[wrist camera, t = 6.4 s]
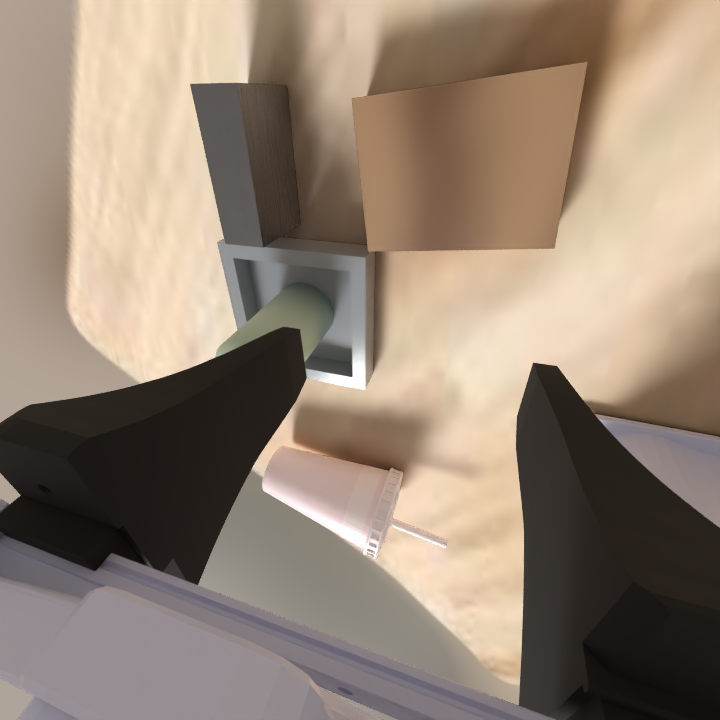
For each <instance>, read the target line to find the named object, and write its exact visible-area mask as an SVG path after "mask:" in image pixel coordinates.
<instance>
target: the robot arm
mask: <svg viewBox="0 0 720 720" xmlns="http://www.w3.org/2000/svg"><path fill="white" fill-rule="evenodd" d="M306 379H307V376H306V369H305V361H304V354H303V347H302V339H301V332H300V329H296V328H290V327H281V328H279V329H276V330H274V331H271V332H269V333H267V334H265V335H263V336H261V337H259V338H256V339H254V340H252V341H250V342H248V343H246V344H244V345H242V346H240V347H238V348H236V349H234V350H231V351H229V352H227V353H225V354H222V355H220V356H218V357H216V358H213V359H211V360H209V361H206V362H204V363H202V364H199V365H197V366H194V367H192V368H189V369H186V370H184V371H181V372H178V373H175V374H172V375H169V376H166V377H163V378H160V379H156V380H153V381H149V382H145V383H142V384H138V385H135V386H131V387H127V388H124V389H119V390H114V391H110V392H106V393H100V394H95V395H90V396H85V397H79V398H73V399H67V400H60V401H53V402H46V403H40V404H32V405H29V406H27V407H25V408H23V409H21V410H19V411H18V412H16V413H15V414H13V415H12V416H10V417H9V418H7V419H6V420H4V421H2V422H1V423H0V473H1V474H2V475H3V476H4V477H5V478H6V479H7V481H8V482H9V483H10V484H11V485H12V486H13V487H14V488H15V489H16V490H17V491H18V493H19V494H20V495H21V496H20V497H18V498H17V499H16V500H15V501H14V502H13V503H11V504H10V505H9V504H8V503H7V502H5V501H4V500H2V499H0V678H1V679H3V680H4V681H6V682H8V683H10V684H12V685H14V686H16V687H17V688H19V689H21V690H23V691H25V692H26V693H28V694H30V695H32V696H34V698H33V699H32V700H31V702H30V703H29V704H28V705H27V707H26V708H25V709H24V711H23V712H22V713H21V714H20V716H19V717H18V718H17V720H383V719H381V718H379V717H377V716H375V715H373V714H371V713H369V712H367V711H365V710H363V709H361V708H359V707H358V706H356V705H353V704H352V703H350V702H348V701H346V700H344V699H342V698H340V697H338V696H337V695H334V694H333V693H336V694H338V695H341V696H343V697H345V698H348V699H350V700H353V701H355V702H357V703H360V704H362V705H365V706H367V707H369V708H372V709H374V710H377V711H379V712H381V713H384V714H386V715H389V716H391V717H393V718H396V719H398V720H720V437H718V436H713V435H707V434H702V433H696V432H691V431H686V430H680V429H675V428H669V427H664V426H658V425H653V424H647V423H642V422H637V421H631V420H626V419H620V418H615V417H609V416H604V415H599V414H594V413H593V412H592V411H591V409H590V408H589V407H588V406H587V405H586V403H585V402H584V401H583V400H582V398H581V397H580V396H579V394H578V393H577V392H576V391H575V389H574V388H573V387H572V385H571V384H570V383H569V381H568V380H567V379H566V377H565V376H564V375H563V373H562V372H561V371H560V369H559V368H558V367H557V366H552V365H545V364H538V363H533V365H532V368H531V372H530V375H529V378H528V382H527V385H526V388H525V392H524V395H523V398H522V402H521V405H520V408H519V412H518V415H517V431H516V451H517V462H518V472H519V481H520V491H521V500H522V510H523V521H524V596H523V630H522V656H521V676H520V697H519V706H518V705H515V704H513V703H510V702H508V701H505V700H502V699H499V698H497V697H494V696H491V695H489V694H486V693H484V692H481V691H478V690H476V689H473V688H470V687H467V686H465V685H462V684H460V683H457V682H454V681H452V680H449V679H446V678H444V677H441V676H438V675H436V674H433V673H430V672H428V671H425V670H422V669H420V668H417V667H414V666H412V665H409V664H406V663H404V662H401V661H398V660H395V659H393V658H390V657H387V656H385V655H382V654H380V653H377V652H374V651H372V650H369V649H366V648H363V647H361V646H358V645H356V644H353V643H350V642H348V641H345V640H342V639H340V638H337V637H334V636H331V635H329V634H326V633H324V632H321V631H318V630H315V629H313V628H310V627H308V626H305V625H302V624H300V623H297V622H294V621H291V620H289V619H286V618H284V617H281V616H278V615H275V614H273V613H270V612H268V611H265V610H262V609H260V608H257V607H254V606H251V605H249V604H246V603H244V602H241V601H238V600H235V599H233V598H230V597H228V596H225V595H222V594H220V593H217V592H214V591H212V590H209V589H206V588H204V587H201V586H198V583H199V581H200V578H201V576H202V574H203V571H204V569H205V566H206V564H207V561H208V559H209V557H210V554H211V552H212V549H213V547H214V545H215V542H216V540H217V538H218V536H219V534H220V531H221V529H222V527H223V525H224V523H225V520H226V518H227V516H228V514H229V512H230V510H231V508H232V506H233V504H234V502H235V500H236V497H237V496H238V494H239V492H240V490H241V488H242V486H243V484H244V482H245V480H246V478H247V476H248V475H249V473H250V471H251V469H252V467H253V465H254V463H255V462H256V460H257V458H258V457H259V455H260V454H261V452H262V451H263V449H264V448H265V446H266V445H267V443H268V442H269V440H270V439H271V437H272V436H273V434H274V433H275V432H276V430H277V429H278V427H279V426H280V424H281V423H282V421H283V420H284V418H285V417H286V415H287V414H288V412H289V411H290V409H291V408H292V406H293V405H294V403H295V402H296V400H297V398H298V396H299V394H300V392H301V390H302V387H303V385H304V383H305V381H306ZM323 688H324V689H323ZM325 689H326V690H325ZM327 690H329V691H331V692H333V693H331V692H329V691H327Z"/></svg>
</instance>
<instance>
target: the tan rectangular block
mask: <svg viewBox="0 0 720 720" xmlns="http://www.w3.org/2000/svg"><path fill="white" fill-rule="evenodd" d="M587 63H588V62H583V63H576V64H570V65H563V66H557V67H550V68H544V69H538V70H531V71H525V72H518V73H512V74H506V75H499V76H493V77H486V78H480V79H473V80H467V81H461V82H454V83H448V84H441V85H435V86H428V87H422V88H416V89H409V90H403V91H396V92H390V93H383V94H377V95H371V96H364V97H358V98H352V106H353V116H354V125H355V134H356V144H357V153H358V162H359V172H360V181H361V190H362V200H363V209H364V218H365V228H366V237H367V247H368V252H374V251H434V250H493V249H553V248H555V243H556V237H557V232H558V226H559V220H560V215H561V209H562V203H563V198H564V192H565V187H566V181H567V175H568V170H569V164H570V158H571V153H572V147H573V142H574V136H575V130H576V125H577V119H578V113H579V108H580V102H581V97H582V91H583V85H584V80H585V74H586V69H587Z"/></svg>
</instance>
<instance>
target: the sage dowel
mask: <svg viewBox="0 0 720 720" xmlns="http://www.w3.org/2000/svg"><path fill="white" fill-rule="evenodd" d="M333 319H334V313H333V308H332V305H331V303H330V301H329V300H328V298H327V297H326V296H325V295H324V294H323V293H322V292H321V291H320V290H319V289H317V288H316V287H314V286H312V285H309V284H305V283H294V284H291V285H289V286H288V287H286V288H285V289H284V290H283V291H282V292H281V293H279V294H278V295H277V296H276V297H275V298H274V299H273V300H271V301H270V302H269V303H268V304H267V305H266V306H265V307H264V308H262V309H261V310H260V311H259V312H258V313H257V314H256V315H254V316H253V317H252V318H251V319H250V320H249V321H248V322H247V323H245V324H244V325H243V326H242V327H241V328H240V329H239V330H237V331H236V332H235V333H234V334H233V335H232V336H231V337H230V338H228V339H227V340H226V341H225V342H224V343H223V344H222V345H221V346H220V347H219V348H218V350H217V352H216V357H218V356H220V355H222V354H225V353H227V352H229V351H231V350H234V349H236V348H238V347H240V346H242V345H244V344H246V343H248V342H250V341H252V340H254V339H256V338H259V337H261V336H263V335H265V334H267V333H269V332H271V331H274V330H276V329H279V328H281V327H290V328H296V329H300V332H301V339H302V347H303V354H304V361H306V360H307V359H308V357H309V356H310V354H311V353H312V352H313V350H314V349H315V348H316V346H317V345H318V344H319V342H320V341H321V340H322V338H323V337H324V336H325V334H326V333H327V332H328V330H329V329H330V327H331V326H332V323H333Z"/></svg>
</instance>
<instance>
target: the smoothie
mask: <svg viewBox="0 0 720 720" xmlns="http://www.w3.org/2000/svg"><path fill="white" fill-rule="evenodd" d="M402 478H403V472H401V471H398V470H395V469H394V468H393V467H392V468H391V469H390V471H388V470H383V469H379V468H375V467H371V466H367V465H362V464H358V463H354V462H350V461H345V460H341V459H337V458H333V457H328V456H324V455H320V454H316V453H311V452H307V451H303V450H299V449H294V448H290V447H286V446H282V447H280V448H279V449H278V450H277V451H276V452H275V453H274V455H273V456H272V458H271V460H270V461H269V463H268V466H267V468H266V471H265V474H264V477H263V483H262V487H263V490H264V491H265V492H267V493H268V494H270V495H272V496H273V497H275V498H277V499H279V500H280V501H282V502H284V503H286V504H287V505H289V506H290V507H292V508H294V509H296V510H297V511H299V512H301V513H302V514H304V515H306V516H307V517H309V518H311V519H313V520H314V521H316V522H318V523H319V524H321V525H323V526H324V527H326V528H328V529H330V530H331V531H333V532H335V533H336V534H338V535H340V536H341V537H343V538H345V539H346V540H348V541H350V542H352V543H354V544H355V545H357V546H359V547H360V548H362V549H364V551H363V554H364V555H368V556H370V557H372V558H374V559H376V558H377V557H378V555H379V552H380V549H381V546H382V543H385V539H386V536H387V533H388V530H389V527H390V526H392V527H395V528H397V529H399V530H402V531H404V532H407V533H409V534H412V535H414V536H417V537H419V538H422V539H424V540H427V541H429V542H432V543H434V544H437V545H439V546H442V547H444V548H446V546H447V541H448V540H446V539H444V538H441V537H439V536H436V535H434V534H431V533H429V532H426V531H424V530H421V529H419V528H416V527H414V526H411V525H409V524H406V523H404V522H401V521H399V520H396V519H394V518H392V517H393V514H394V511H395V507H396V503H397V500H398V496H399V492H400V485H401V482H402Z"/></svg>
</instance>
